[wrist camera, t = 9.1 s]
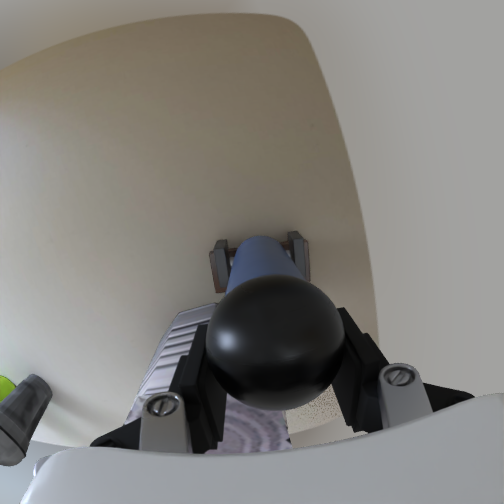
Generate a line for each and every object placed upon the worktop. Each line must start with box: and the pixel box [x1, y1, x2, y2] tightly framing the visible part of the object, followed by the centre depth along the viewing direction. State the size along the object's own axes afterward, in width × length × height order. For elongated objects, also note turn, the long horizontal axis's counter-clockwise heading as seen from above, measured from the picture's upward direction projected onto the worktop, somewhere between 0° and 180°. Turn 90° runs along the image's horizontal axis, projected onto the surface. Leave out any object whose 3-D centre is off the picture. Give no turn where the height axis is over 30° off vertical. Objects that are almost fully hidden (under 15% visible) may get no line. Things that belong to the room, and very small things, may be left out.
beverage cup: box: [0, 374, 52, 466], centre depth 19 cm, size 7×7×20 cm
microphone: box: [206, 236, 345, 411], centre depth 14 cm, size 16×5×4 cm
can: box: [123, 303, 293, 454], centre depth 21 cm, size 11×11×12 cm
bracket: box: [209, 231, 310, 293], centre depth 22 cm, size 4×8×3 cm, turn 97°
